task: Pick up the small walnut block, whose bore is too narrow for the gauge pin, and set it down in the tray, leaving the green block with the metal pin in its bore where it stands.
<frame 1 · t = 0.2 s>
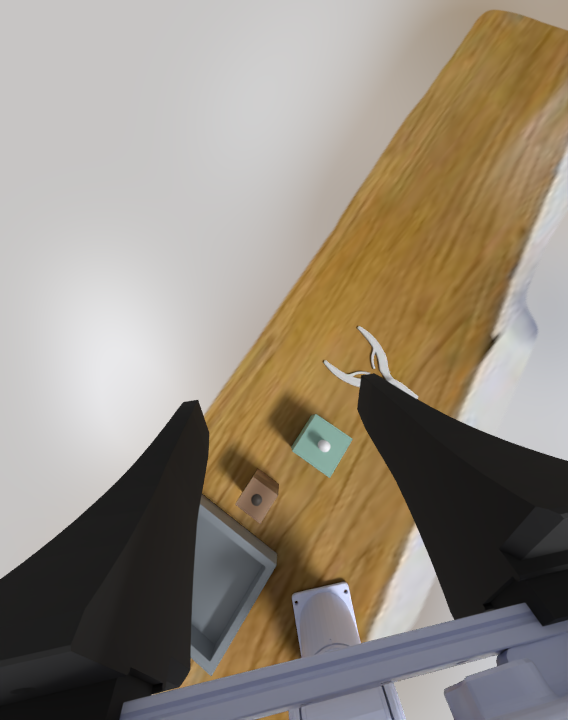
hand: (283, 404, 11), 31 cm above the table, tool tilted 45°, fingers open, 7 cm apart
tray: (209, 568, 36), on the table
pliers: (372, 374, 43), on the table
walnut block: (260, 488, 38), on the table
green block: (317, 441, 40), on the table
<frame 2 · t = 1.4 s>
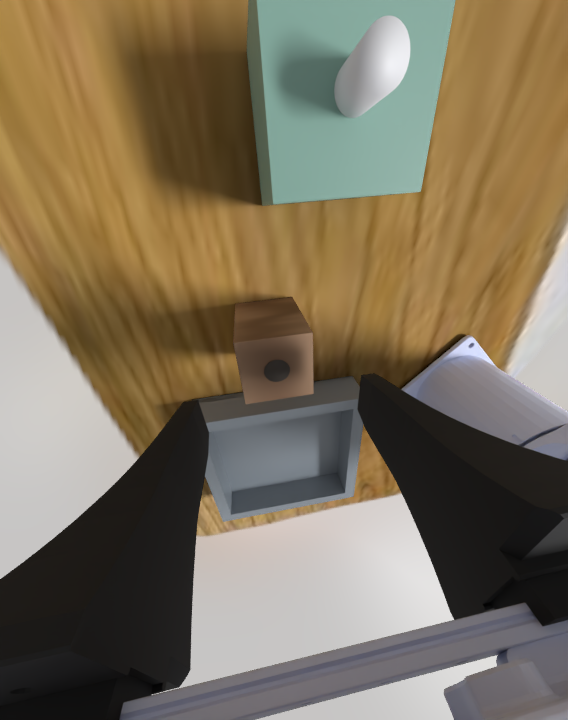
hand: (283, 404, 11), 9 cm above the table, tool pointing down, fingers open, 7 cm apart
tray: (280, 441, 25), on the table
walnut block: (267, 326, 18), on the table
green block: (311, 135, 13), on the table
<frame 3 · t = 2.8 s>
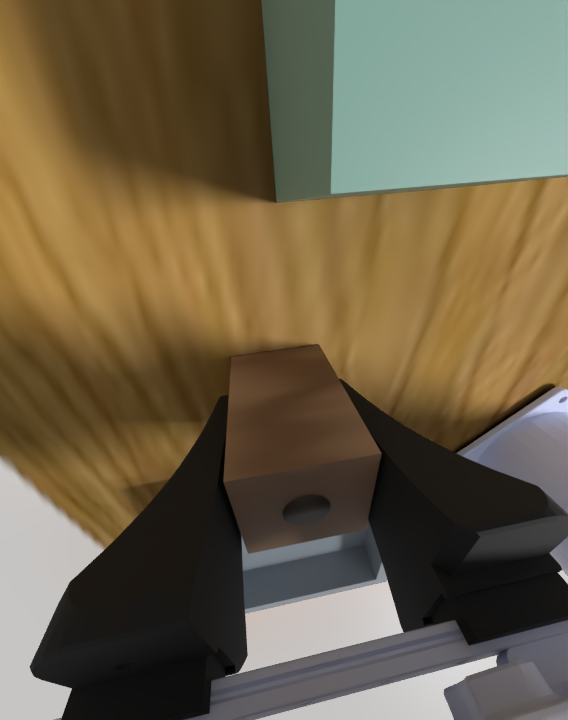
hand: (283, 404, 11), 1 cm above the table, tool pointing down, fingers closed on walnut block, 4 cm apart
tray: (293, 517, 19), on the table
walnut block: (279, 385, 12), on the table, touching gripper
green block: (371, 69, 7), on the table
when the fingers open (4 cm above the table, at t = 6.1 s): walnut block drops 1 cm, resting on tray.
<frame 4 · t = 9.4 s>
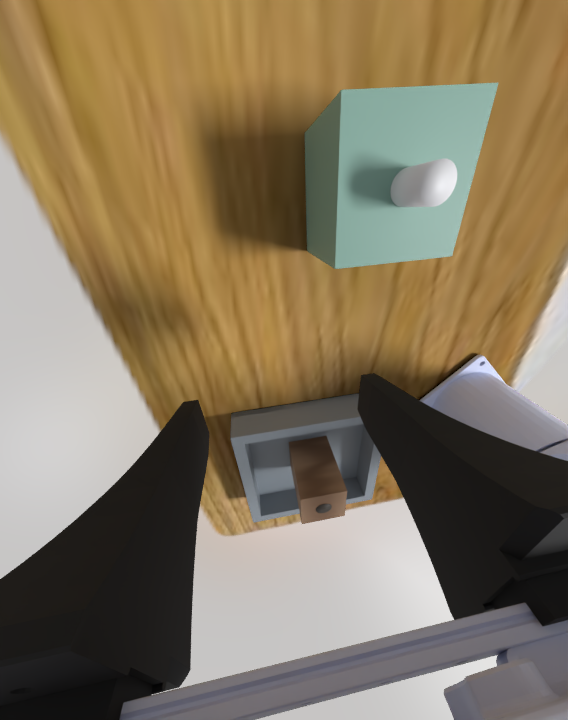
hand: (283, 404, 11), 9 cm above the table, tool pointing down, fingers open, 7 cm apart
tray: (306, 449, 27), on the table
walnut block: (307, 451, 27), point 1 cm above the table, touching tray
green block: (352, 194, 16), on the table
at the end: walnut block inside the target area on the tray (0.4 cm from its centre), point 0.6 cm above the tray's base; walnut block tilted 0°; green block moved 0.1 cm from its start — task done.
